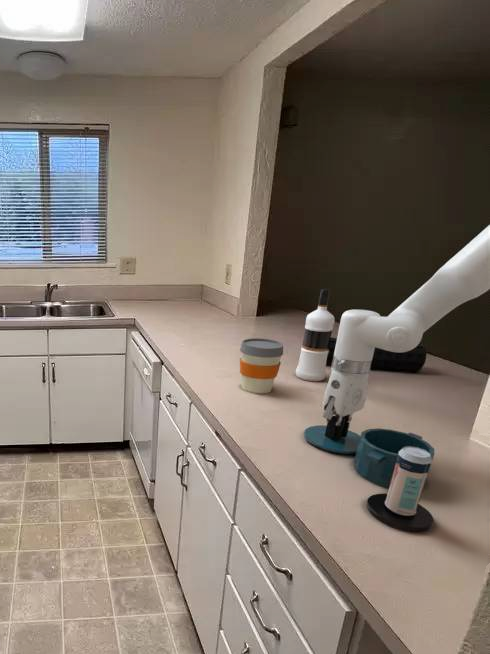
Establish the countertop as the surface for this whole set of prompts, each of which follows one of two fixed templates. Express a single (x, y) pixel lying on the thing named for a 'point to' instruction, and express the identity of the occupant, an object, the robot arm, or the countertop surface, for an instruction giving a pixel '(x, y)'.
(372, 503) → the black plate
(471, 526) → the countertop surface
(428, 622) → the countertop surface
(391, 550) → the countertop surface
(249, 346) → the reusable coffee cup
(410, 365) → the roller
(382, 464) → the pot
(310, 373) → the vodka
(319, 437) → the lid
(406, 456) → the beer can
